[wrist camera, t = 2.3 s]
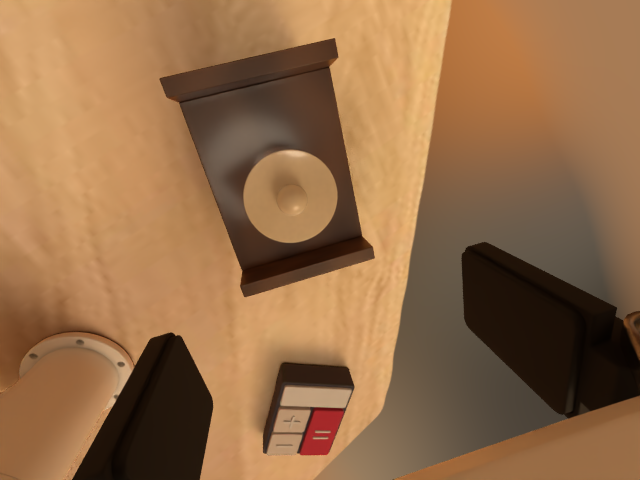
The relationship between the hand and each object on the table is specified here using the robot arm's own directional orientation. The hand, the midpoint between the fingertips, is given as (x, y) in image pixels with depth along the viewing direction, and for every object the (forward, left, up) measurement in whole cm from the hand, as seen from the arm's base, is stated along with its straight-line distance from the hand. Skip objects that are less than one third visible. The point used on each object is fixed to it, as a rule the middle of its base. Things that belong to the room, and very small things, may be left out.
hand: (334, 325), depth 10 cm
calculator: (-6, -35, -28) cm, 45 cm away
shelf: (0, +2, -28) cm, 28 cm away
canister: (0, +2, -18) cm, 18 cm away
